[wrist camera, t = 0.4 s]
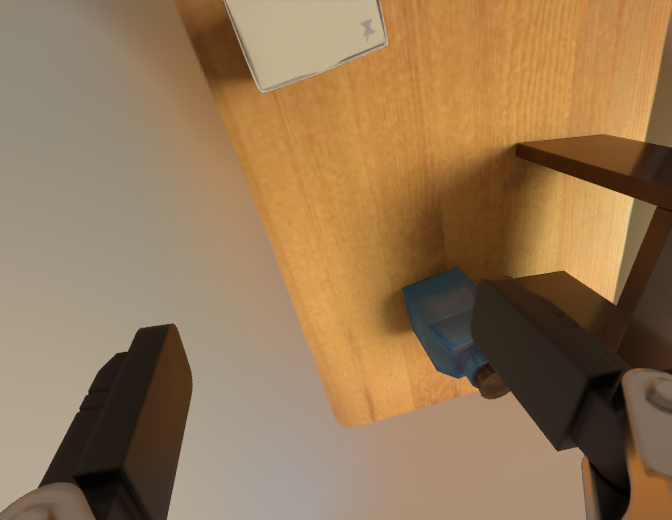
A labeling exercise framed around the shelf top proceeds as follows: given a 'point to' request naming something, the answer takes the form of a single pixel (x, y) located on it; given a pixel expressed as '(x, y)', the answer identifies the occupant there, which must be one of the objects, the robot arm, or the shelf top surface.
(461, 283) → the perfume bottle
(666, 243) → the walnut shelf
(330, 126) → the shelf top surface
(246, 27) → the cosmetic box
